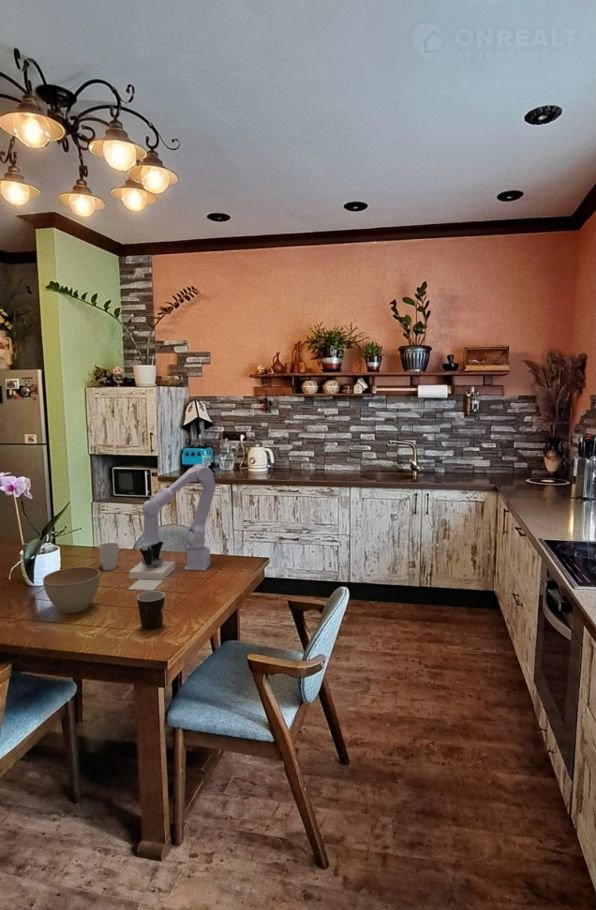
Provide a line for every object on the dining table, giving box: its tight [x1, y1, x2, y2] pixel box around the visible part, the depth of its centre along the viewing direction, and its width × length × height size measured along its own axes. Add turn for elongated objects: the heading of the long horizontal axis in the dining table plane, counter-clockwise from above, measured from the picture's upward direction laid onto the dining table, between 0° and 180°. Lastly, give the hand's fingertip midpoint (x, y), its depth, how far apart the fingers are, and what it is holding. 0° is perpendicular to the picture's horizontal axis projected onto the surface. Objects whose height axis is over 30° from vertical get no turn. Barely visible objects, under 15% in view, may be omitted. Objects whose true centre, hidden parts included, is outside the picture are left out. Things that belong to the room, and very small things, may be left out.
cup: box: [97, 542, 119, 571], centre depth 228 cm, size 8×8×10 cm
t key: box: [141, 556, 164, 568], centre depth 222 cm, size 8×3×6 cm, turn 82°
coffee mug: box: [136, 590, 166, 631], centre depth 171 cm, size 12×9×10 cm
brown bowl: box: [42, 566, 101, 614], centre depth 186 cm, size 18×18×12 cm
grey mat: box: [127, 579, 164, 592], centre depth 208 cm, size 10×10×1 cm
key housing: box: [128, 560, 176, 581], centre depth 222 cm, size 14×14×3 cm
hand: (152, 562), depth 222 cm, fingers open, 7 cm apart
